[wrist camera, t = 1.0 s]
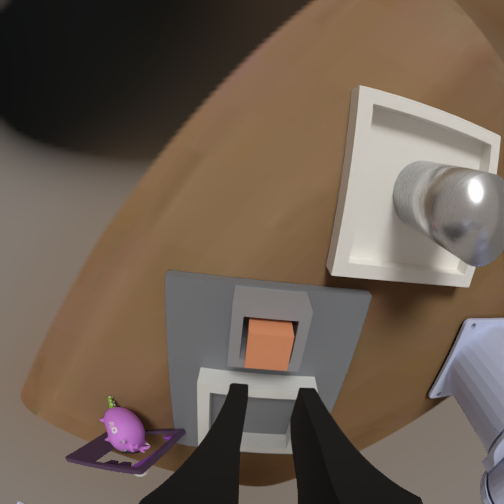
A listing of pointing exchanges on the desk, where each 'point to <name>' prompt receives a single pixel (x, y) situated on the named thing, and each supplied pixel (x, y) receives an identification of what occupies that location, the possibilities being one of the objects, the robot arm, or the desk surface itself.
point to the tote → (382, 183)
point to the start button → (268, 344)
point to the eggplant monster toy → (123, 442)
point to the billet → (453, 208)
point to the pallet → (233, 351)
